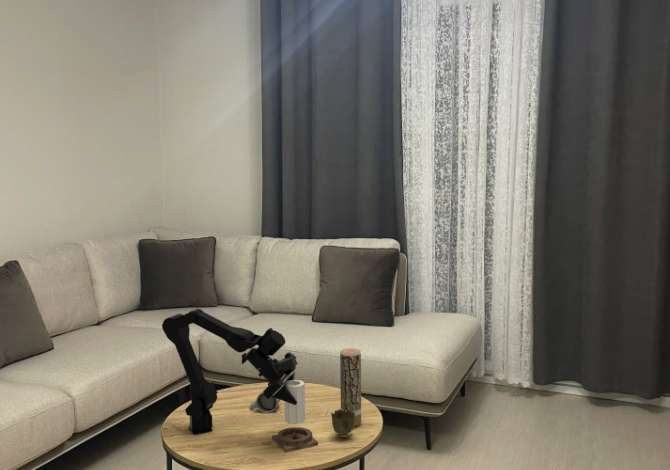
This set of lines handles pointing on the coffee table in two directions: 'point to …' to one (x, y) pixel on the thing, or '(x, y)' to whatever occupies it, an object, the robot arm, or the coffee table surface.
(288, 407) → the tube
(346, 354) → the paper tube
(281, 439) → the holder
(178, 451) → the coffee table surface
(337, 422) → the cup
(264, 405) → the ceramic mug
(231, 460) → the coffee table surface
